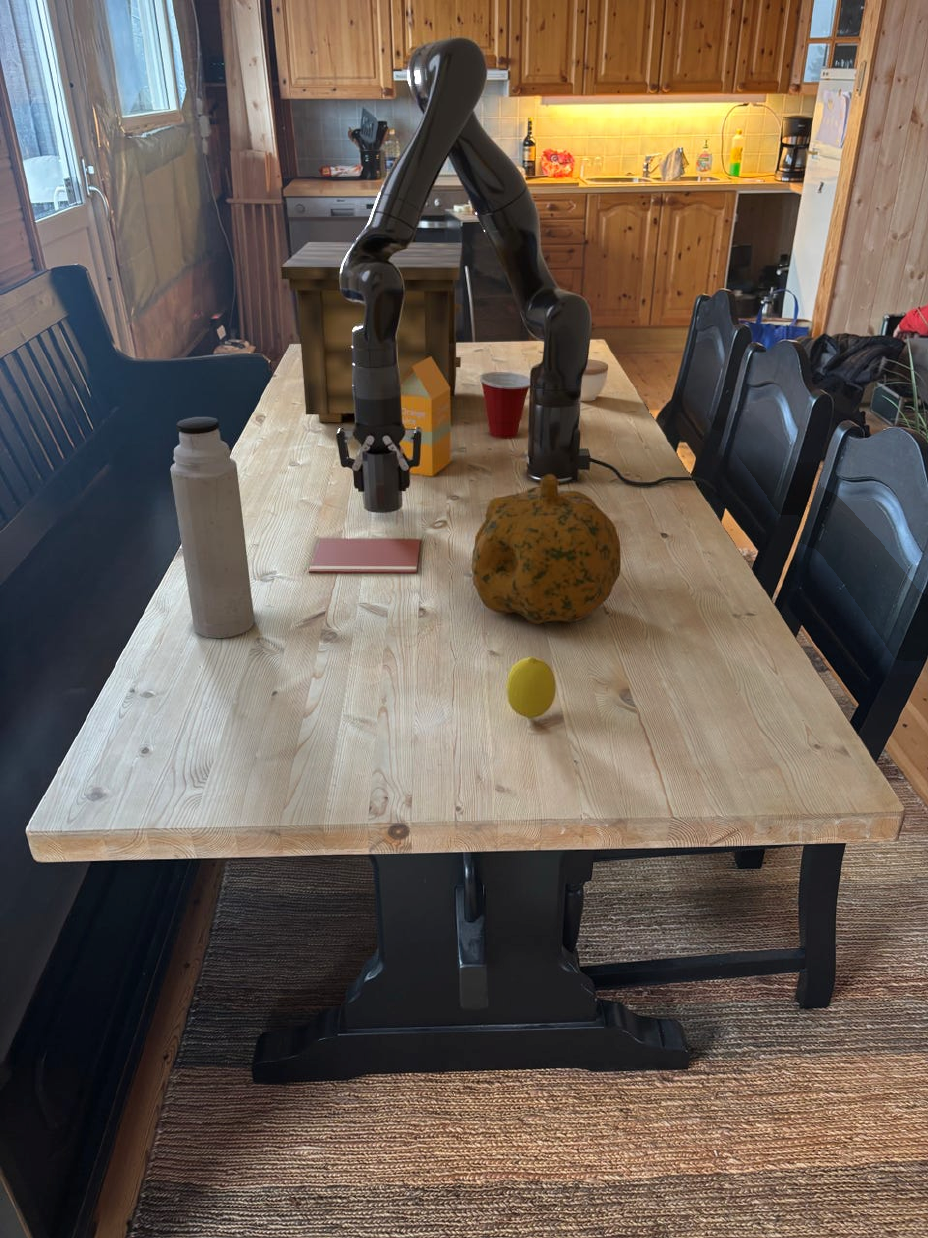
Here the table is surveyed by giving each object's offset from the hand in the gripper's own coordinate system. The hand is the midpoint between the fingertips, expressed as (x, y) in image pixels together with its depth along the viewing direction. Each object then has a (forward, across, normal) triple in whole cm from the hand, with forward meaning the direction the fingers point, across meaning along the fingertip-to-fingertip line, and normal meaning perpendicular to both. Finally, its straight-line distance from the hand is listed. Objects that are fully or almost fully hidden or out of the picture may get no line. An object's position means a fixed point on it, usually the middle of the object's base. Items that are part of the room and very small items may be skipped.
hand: (382, 489), depth 163 cm
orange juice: (+5, -6, -25) cm, 26 cm away
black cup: (+3, 0, 0) cm, 3 cm away
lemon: (+5, -21, +60) cm, 64 cm away
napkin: (+5, +1, +16) cm, 17 cm away
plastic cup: (+5, -22, -45) cm, 50 cm away
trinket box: (+6, -41, -73) cm, 84 cm away
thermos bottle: (+5, +18, +38) cm, 43 cm away
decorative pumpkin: (+5, -24, +32) cm, 41 cm away
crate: (+5, +5, -66) cm, 66 cm away
